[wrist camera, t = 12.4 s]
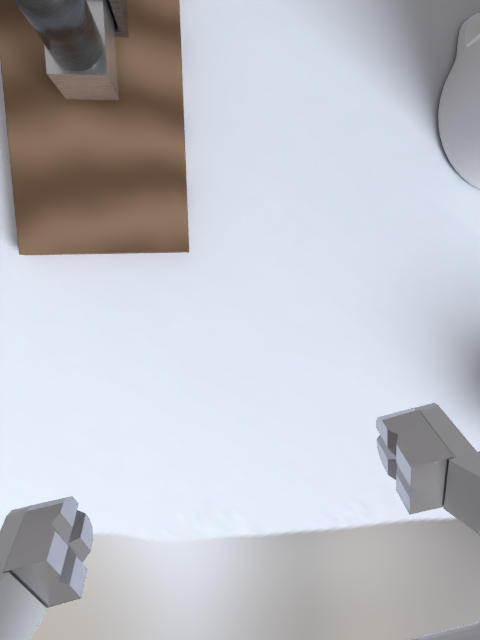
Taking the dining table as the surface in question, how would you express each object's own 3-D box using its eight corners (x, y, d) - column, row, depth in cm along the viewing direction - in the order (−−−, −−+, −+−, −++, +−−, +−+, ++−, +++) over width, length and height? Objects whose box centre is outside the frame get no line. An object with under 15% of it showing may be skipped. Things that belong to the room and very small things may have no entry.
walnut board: (189, 252, 35) (188, 251, 34) (27, 255, 34) (19, 254, 32) (170, -227, 30) (168, -252, 29) (-20, -247, 29) (-32, -275, 27)
